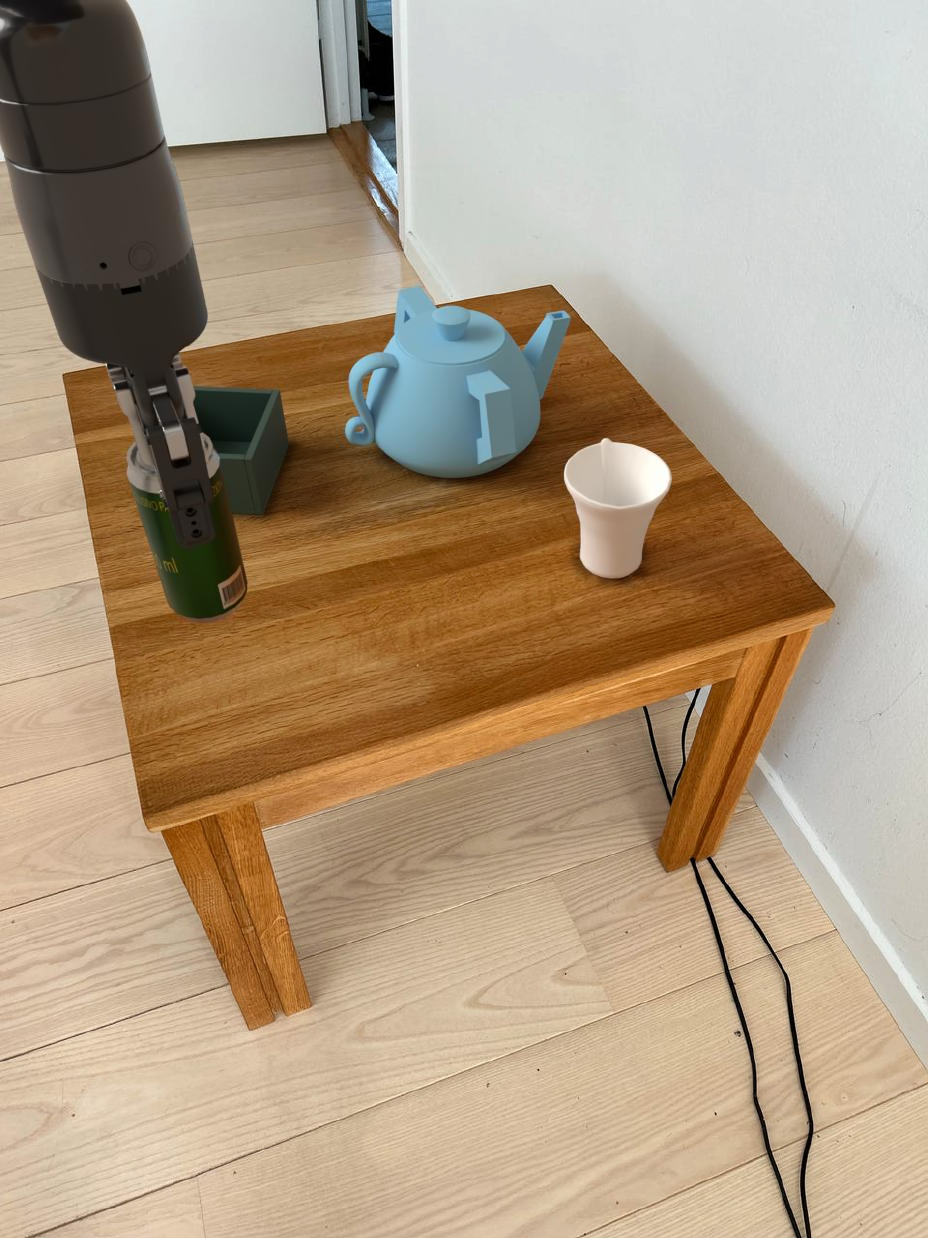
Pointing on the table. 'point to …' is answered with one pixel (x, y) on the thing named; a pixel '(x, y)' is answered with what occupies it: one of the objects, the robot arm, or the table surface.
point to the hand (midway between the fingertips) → (185, 511)
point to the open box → (244, 440)
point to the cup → (615, 503)
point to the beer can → (202, 574)
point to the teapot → (453, 388)
